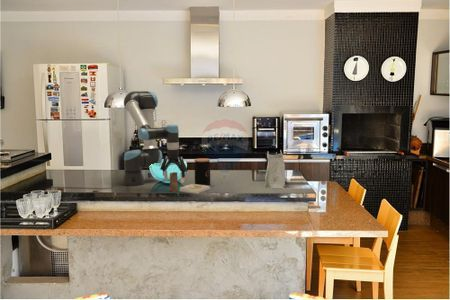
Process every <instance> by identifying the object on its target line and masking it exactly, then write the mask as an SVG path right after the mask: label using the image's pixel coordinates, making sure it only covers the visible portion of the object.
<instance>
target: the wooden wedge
mask: <svg viewBox="0 0 450 300" xmlns="http://www.w3.org/2000/svg"><path fill="white" fill-rule="evenodd" d="M178 186H179V185H178V172H170V173H169V192H171V193H174V192H177V191H178V190H179V189H178Z"/></svg>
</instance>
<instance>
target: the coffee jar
mask: <svg viewBox="0 0 450 300" xmlns="http://www.w3.org/2000/svg"><path fill="white" fill-rule="evenodd" d="M210 161H211V158H206V157H205V158H199V157H198V158H195V159H194V184H198V185H206V186H210V185H211V162H210Z"/></svg>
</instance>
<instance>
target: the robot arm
mask: <svg viewBox="0 0 450 300" xmlns="http://www.w3.org/2000/svg"><path fill="white" fill-rule="evenodd" d="M158 103H159V101H158V97H157V94H156V93H155V92H154V91H149V90H142V91H139V90H137V91H130V92H128V93H127V94H125V97H124V99H123V107H124V109H125V110H126V111H127V112H128V113H129V115H130V117H131V119H132V120H133V122H134V125H136V128H137V129H138V130H137V137H138V139H139V140H140V141H143V147H142V149H132V150H128V151H125V152H124V154H123V161H124V163H123V165H124V166H123V168H124V175H123V178H122V180H121V182H122V184H121V185H123V186H129V187H134V186H135V187H136V186H137V187H138V186H142V185H145V179H144V175H143V173H142V172H143V171H142V169H145V168H146V169H147V168H150V167H149V166H150V165H151V164H154V163H161V164H160V169H159V170H160V171H162V175H163V182H167V181H169V179H168V168H169V167H170V165H172V164H175V165H176V166H177V168H178V169H179V171H180V174H179V175H180V184H182V183H183V184H184V183H185V177H186V172H188V168H187V165H186V163H185V161H184V157H183V156H179V155H180V149H179V148H180V144H179V143H180V142H179V140H180V138H179V132H180V131H179V125H177V124H167V125H166V126H161V127H155V118H154V117H155V116H154V112H155V111H156V108H158ZM157 140H166V148H167V150H166V153H167V155H164V156H163V153H162V151H161V149H159V146H157Z"/></svg>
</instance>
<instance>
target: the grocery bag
mask: <svg viewBox="0 0 450 300" xmlns="http://www.w3.org/2000/svg"><path fill="white" fill-rule="evenodd" d="M266 156H267V157H266V158H267V167H266V171H265V179H264V184H265V189H266V188H267V189H271V188H272V189H273V188H274V189H277V188H278V189H280V188H281V189H284V188H285V184H286V183H285V182H286V165H285V164H286V163H285V161H284V156H283V153H282V150H281V149H280V153H278V154H277V153H276V154H269V151H267V154H266Z"/></svg>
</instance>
